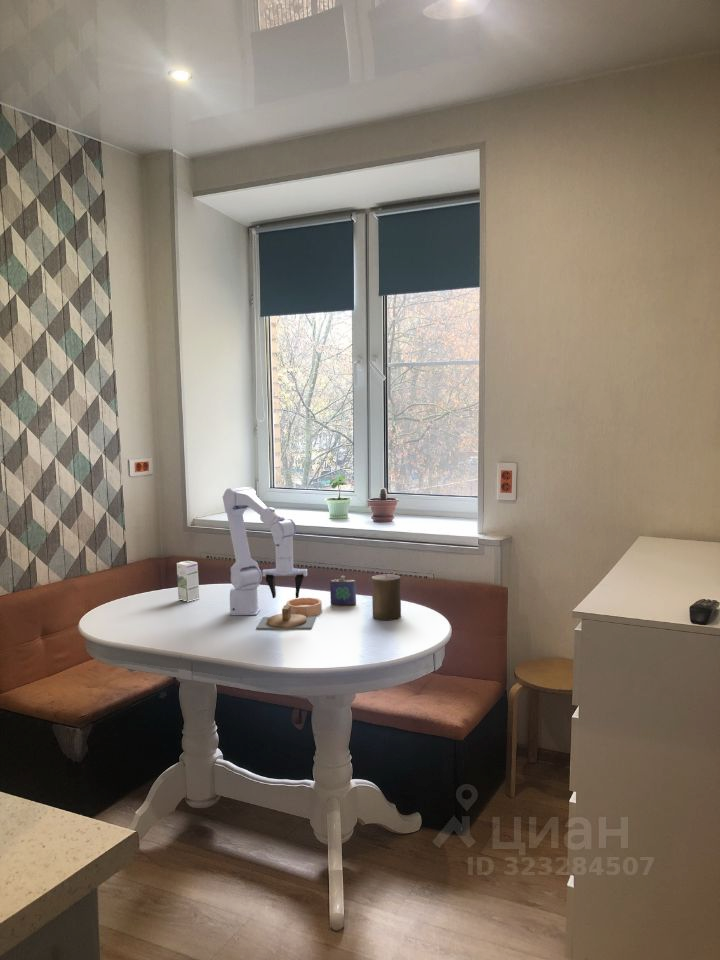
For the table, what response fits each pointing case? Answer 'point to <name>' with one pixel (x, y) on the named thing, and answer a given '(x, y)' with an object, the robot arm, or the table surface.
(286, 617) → the lid
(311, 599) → the bowl
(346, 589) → the flask
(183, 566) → the syrup box
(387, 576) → the pillar candle
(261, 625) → the mat
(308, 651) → the table surface
